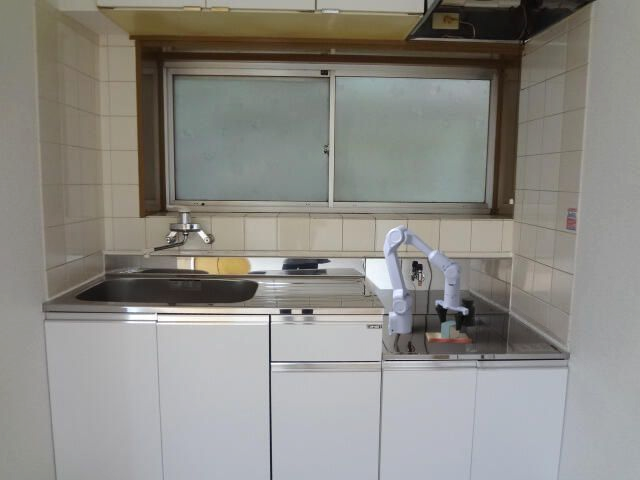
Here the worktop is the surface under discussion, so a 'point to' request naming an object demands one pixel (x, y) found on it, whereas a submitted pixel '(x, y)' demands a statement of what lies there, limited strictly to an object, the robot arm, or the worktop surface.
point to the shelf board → (437, 338)
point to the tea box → (449, 330)
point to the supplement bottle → (469, 312)
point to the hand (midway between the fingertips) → (450, 327)
